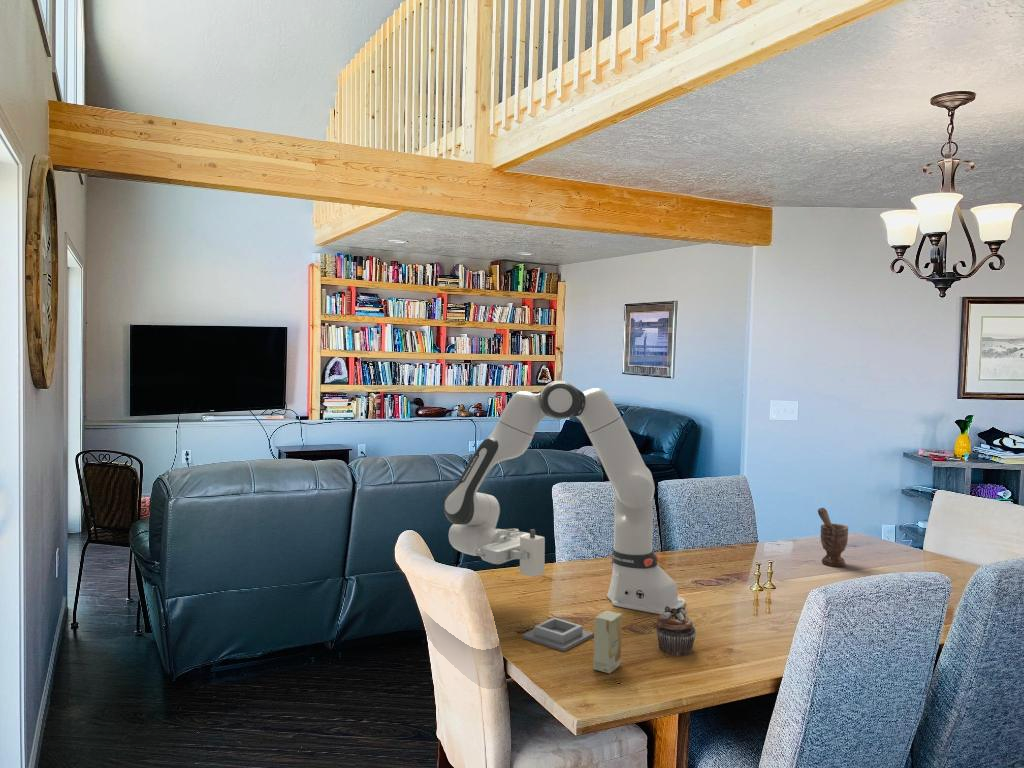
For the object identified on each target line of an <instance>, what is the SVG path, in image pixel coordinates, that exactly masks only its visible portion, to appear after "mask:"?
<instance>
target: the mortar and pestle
mask: <svg viewBox="0 0 1024 768" xmlns="http://www.w3.org/2000/svg"><path fill="white" fill-rule="evenodd" d="M817 512H818V513H817V515H818V516H819V517H820V519H821V522H822V524H821V525H820V543H821V546H822V548H823V550H825V552H826V554H825V555H824V557H823V558H822V559H821V563H822V564H823V565H826V566H828V567H834V568H836V567H837V568H838V567H839V568H841V567H845V566H846V561H845V558H843V557H842V554H843V552H845V550H846V547H847V545H848V540H849V526H847V525H845V524H841V523H832V522H831V519H830V515H829V512H828V510H827V509H826V508H825V507H820V508H819V509H817Z"/></svg>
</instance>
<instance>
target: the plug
mask: <svg viewBox="0 0 1024 768" xmlns="http://www.w3.org/2000/svg"><path fill="white" fill-rule="evenodd" d="M529 533H530V534H529V535H526V536H523V537H520V552H524V551H525V552H529V553H530V558H529V559H527V560H524V559H519V575H520V574H521V575H525V576H528V577H532V578H537V577H539V576H541V575H544V574H545V564H546V563H545V559H546V557H545V555H546V553H545V552H546V549H545V548H546V546H545V545H546V539H545V536H542V535H537V534H536V529H535V528H533V529H532V528H531V529H529Z"/></svg>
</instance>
